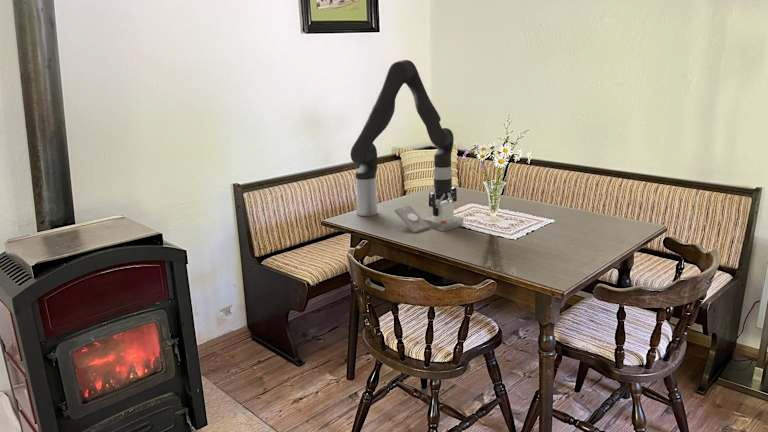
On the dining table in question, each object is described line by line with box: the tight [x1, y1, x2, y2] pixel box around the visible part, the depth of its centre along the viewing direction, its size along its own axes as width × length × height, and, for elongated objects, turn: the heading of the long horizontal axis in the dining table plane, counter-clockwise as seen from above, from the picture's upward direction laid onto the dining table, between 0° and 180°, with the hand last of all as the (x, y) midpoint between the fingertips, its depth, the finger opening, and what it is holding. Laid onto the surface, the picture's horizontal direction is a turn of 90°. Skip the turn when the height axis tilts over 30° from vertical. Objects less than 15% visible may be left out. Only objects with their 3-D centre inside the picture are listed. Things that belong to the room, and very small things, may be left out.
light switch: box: [394, 205, 430, 234], centre depth 248 cm, size 8×6×14 cm
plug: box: [432, 200, 455, 221], centre depth 248 cm, size 6×6×8 cm
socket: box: [422, 215, 464, 232], centre depth 249 cm, size 12×12×4 cm
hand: (443, 213), depth 249 cm, fingers open, 8 cm apart
